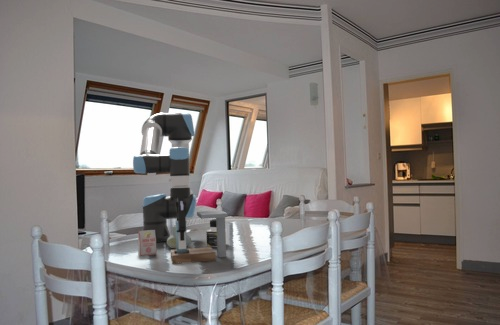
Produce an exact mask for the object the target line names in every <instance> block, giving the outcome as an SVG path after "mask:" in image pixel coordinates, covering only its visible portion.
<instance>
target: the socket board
mask: <svg viewBox="0 0 500 325" xmlns="http://www.w3.org/2000/svg"><path fill="white" fill-rule="evenodd" d="M170 260H171V264H172V265H174V264H175V265H178V264H187V263H189V264H190V263H198V262H199V263H200V262H210V261H216V251H215V250H214V249H213V248H212V247H207V246H205V247H203V246H202V247H193V248H187V253H180V254H177V250H176V249H170Z"/></svg>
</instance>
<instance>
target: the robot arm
mask: <svg viewBox="0 0 500 325" xmlns="http://www.w3.org/2000/svg"><path fill="white" fill-rule="evenodd" d="M192 117H193V116H192V114H191V113H189V112H159V113H155V114H153V115H151V116H150V117H148V118H147V119H146V120H145V121H144V122H143V124H142V127H141V135H142V140H141V144H140V150H139V151H140V152H139V154H136V155H134V156H133V159H132V167H133V168H132V169H133V172H134V173H135V174H144V175H145V174H157V173H158V174H159V173H161V174H165V173H167V174H169V173H170V174H169V176H170V177H169V178H168V182H170V187H171V188H170V189H169V190H170V192H169V195H168V196H167V194H166V193H158V194H155V195H154V194H153V195H148V196H145V197H144V198H143V199H142V217H143V218H142V220H143V222H142V225H143V227H142V229H141V231H147V230H155V236H156V243H162V242H163V243H164V242H167V239H168V238H169V237H170V236H171V233H170V232H171V231H170V229H169V228H168V227H169V226H168V224H167V223H168V222H167V221H168V220H175V219H176V221H178V226H179V230H177V232H178V243H179V249H186V232H185V231H186V230H187V221H186V219H188V218H190V219H191V218H192V217H194V216H195V212H196V206H197V205H196V204H197V202H196V201H197V196H196V195H195V194H194V192H193V190H192V189H191V177H190V176H191V175H190V172H191V171H190V142H191V141H192V140H193V137H194V136H196V135H195V128H194V122H193V118H192ZM161 137H167V138H168V141H169V142H170V144H171V148H169V152H168V153H169V154H167V153H166V154H165V153H164V154H159V150H160V139H161Z"/></svg>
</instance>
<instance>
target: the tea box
mask: <svg viewBox="0 0 500 325" xmlns="http://www.w3.org/2000/svg"><path fill="white" fill-rule="evenodd" d="M137 234H138V236H137V250H138V252H137V255H138V256H139V257H143V256H151V255H152V256H153V255H154V256H155V255H157V242H156V236H155V230H147V231H142V230H138V232H137Z"/></svg>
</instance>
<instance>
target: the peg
mask: <svg viewBox="0 0 500 325" xmlns="http://www.w3.org/2000/svg"><path fill="white" fill-rule="evenodd" d="M175 225H176V249H175V250H177V254H180V253H187V249H188V246H187V235H188V234H187V229H186V231H185V232H186V249H179V243H178V232H177V230H179V226H178V221H177V220H176V221H175Z"/></svg>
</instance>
